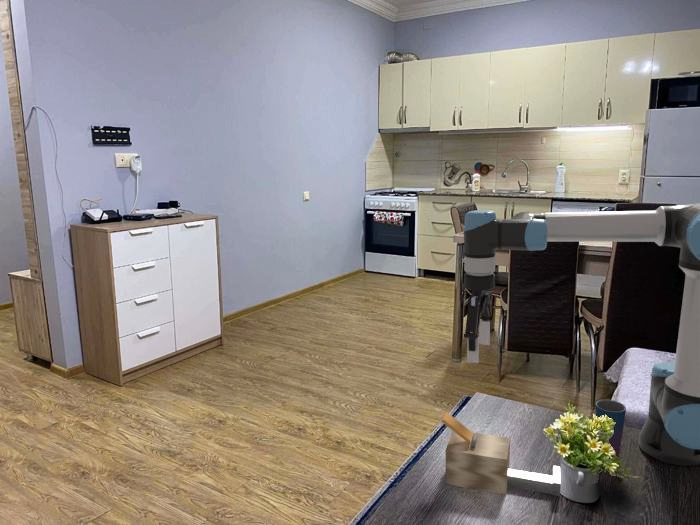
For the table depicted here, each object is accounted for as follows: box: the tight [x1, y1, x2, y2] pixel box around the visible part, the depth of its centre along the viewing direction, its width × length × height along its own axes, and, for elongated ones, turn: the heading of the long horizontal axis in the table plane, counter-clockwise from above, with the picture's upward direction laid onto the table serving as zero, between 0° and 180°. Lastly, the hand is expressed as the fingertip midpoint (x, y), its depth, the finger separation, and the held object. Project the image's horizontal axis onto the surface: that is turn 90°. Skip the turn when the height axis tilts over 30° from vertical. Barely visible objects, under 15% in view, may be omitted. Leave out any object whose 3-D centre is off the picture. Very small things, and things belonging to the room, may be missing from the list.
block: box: [445, 430, 511, 496], centre depth 128 cm, size 14×10×9 cm
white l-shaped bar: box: [507, 464, 562, 497], centre depth 125 cm, size 18×7×4 cm, turn 70°
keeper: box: [441, 411, 478, 447], centre depth 128 cm, size 10×5×1 cm
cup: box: [595, 399, 627, 459], centre depth 132 cm, size 7×7×15 cm
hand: (478, 353), depth 136 cm, fingers open, 13 cm apart
